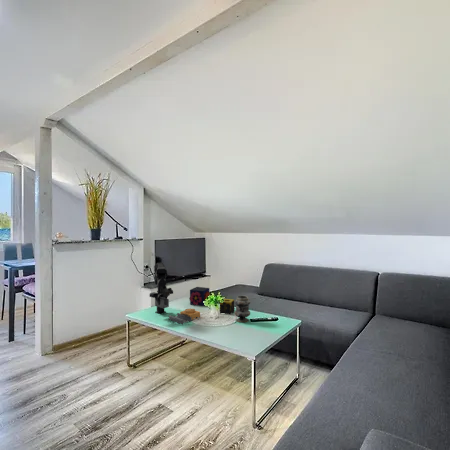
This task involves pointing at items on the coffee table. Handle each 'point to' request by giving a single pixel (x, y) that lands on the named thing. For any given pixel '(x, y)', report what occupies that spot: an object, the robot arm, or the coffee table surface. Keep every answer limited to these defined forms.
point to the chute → (162, 303)
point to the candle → (227, 306)
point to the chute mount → (180, 318)
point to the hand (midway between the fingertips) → (161, 304)
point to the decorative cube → (198, 295)
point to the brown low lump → (191, 313)
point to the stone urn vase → (242, 308)
